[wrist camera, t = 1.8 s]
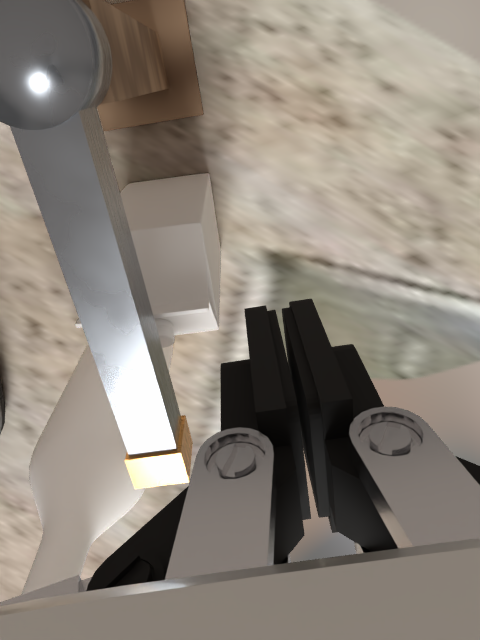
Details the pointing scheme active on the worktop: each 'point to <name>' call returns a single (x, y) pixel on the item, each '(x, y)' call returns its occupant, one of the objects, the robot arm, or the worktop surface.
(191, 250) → the milk carton
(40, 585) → the bottle
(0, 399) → the pressure cooker
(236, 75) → the worktop surface
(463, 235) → the worktop surface
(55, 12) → the arm
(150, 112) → the gate post
